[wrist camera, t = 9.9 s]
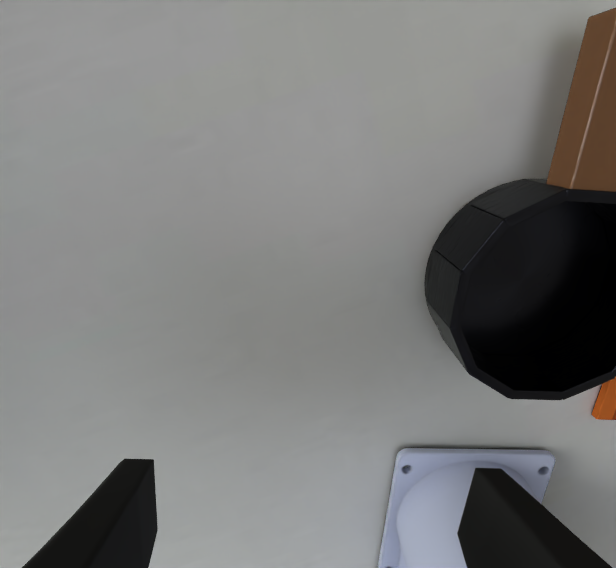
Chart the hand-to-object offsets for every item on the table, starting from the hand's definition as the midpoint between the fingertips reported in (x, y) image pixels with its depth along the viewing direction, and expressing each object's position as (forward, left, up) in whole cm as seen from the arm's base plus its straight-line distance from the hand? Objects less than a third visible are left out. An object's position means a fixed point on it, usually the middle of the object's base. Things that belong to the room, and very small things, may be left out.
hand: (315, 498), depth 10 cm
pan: (+5, -9, -9) cm, 14 cm away
